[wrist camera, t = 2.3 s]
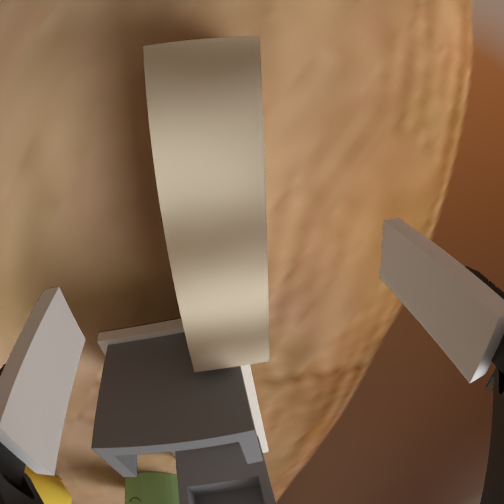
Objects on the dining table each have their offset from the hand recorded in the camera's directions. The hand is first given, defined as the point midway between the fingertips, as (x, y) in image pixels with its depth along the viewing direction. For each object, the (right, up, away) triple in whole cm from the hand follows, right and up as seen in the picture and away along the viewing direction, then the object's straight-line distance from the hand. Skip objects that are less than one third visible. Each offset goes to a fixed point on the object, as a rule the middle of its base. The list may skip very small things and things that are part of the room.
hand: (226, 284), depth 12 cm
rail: (-2, +5, +7) cm, 9 cm away
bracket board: (-4, -14, +17) cm, 22 cm away
